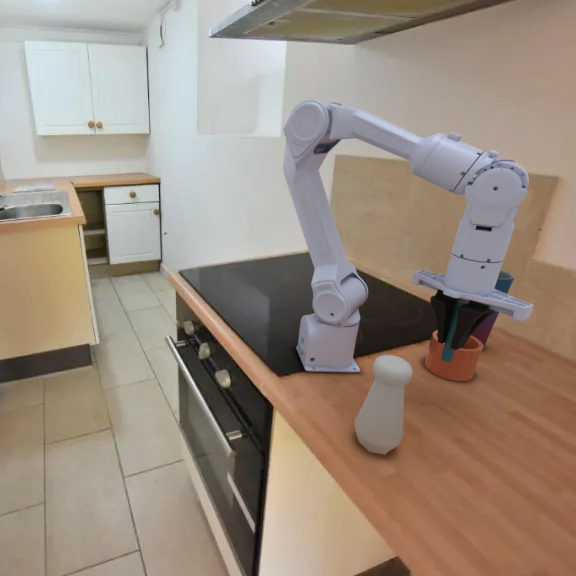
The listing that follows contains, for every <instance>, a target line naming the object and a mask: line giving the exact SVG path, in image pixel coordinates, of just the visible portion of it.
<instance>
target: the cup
mask: <svg viewBox="0 0 576 576" xmlns="http://www.w3.org/2000/svg"><path fill="white" fill-rule="evenodd" d="M514 279H515V275H514V273H512V272H510V271H507V270H505V269H504V270H503V269H501V270H500V273H499V276H498V279H497V282H496V285H495V288H494V289H496V290H499V291H501V292H503V293H505V294H508V293H509V291H510V289H511V287H512V284H513V282H514ZM467 302H468V301H467ZM499 314H500V312H497V311H495V312H494V313H493V314H491V315H490V316H489V317H488V318H487V319H486V320H484V321H483V322H482V323H481V324H480V325H479V326H478V327H477V329H476V330H475V331H474V332H473V333H472V335H471V336H473V337H475V338H477V339H478V340H480V341H481V342H482V344H483V349H484V348H485V346H486V344H487V341H488V339H489V337H490V334H491V332H492V330H493V329H494V328H493V327H494V325H495V323H496V320H497V319H498V316H499Z"/></svg>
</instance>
